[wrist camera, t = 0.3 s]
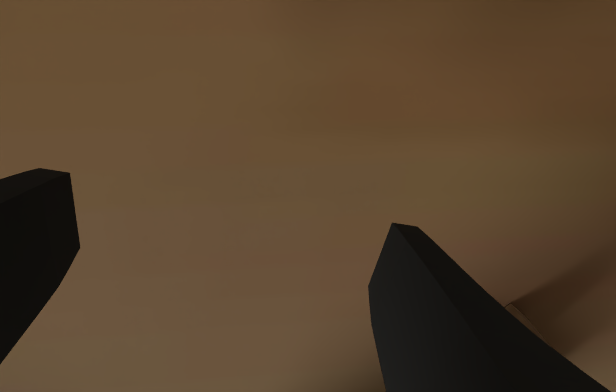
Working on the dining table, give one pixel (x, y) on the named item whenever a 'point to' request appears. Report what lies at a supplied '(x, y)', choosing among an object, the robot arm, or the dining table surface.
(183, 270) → the dining table surface
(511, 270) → the dining table surface
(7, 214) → the robot arm
